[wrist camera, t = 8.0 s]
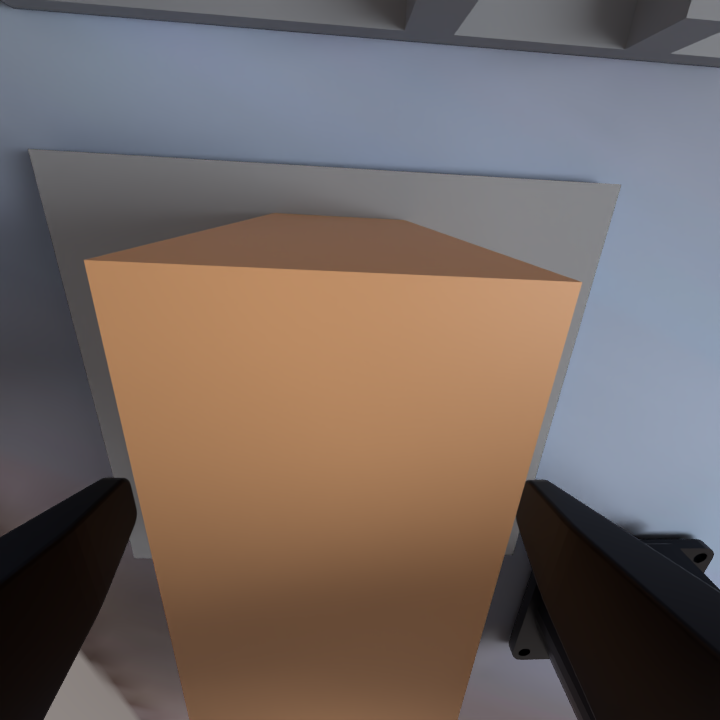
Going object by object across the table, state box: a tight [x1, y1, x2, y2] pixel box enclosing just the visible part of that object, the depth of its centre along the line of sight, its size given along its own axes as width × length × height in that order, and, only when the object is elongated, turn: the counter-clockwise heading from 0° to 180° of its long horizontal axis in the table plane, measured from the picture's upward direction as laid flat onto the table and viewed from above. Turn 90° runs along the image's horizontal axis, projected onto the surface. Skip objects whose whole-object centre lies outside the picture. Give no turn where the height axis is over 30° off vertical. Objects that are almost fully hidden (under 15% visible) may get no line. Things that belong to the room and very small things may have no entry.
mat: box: [28, 149, 621, 558], centre depth 11 cm, size 12×13×1 cm
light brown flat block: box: [84, 213, 582, 720], centre depth 7 cm, size 10×3×7 cm, turn 177°
